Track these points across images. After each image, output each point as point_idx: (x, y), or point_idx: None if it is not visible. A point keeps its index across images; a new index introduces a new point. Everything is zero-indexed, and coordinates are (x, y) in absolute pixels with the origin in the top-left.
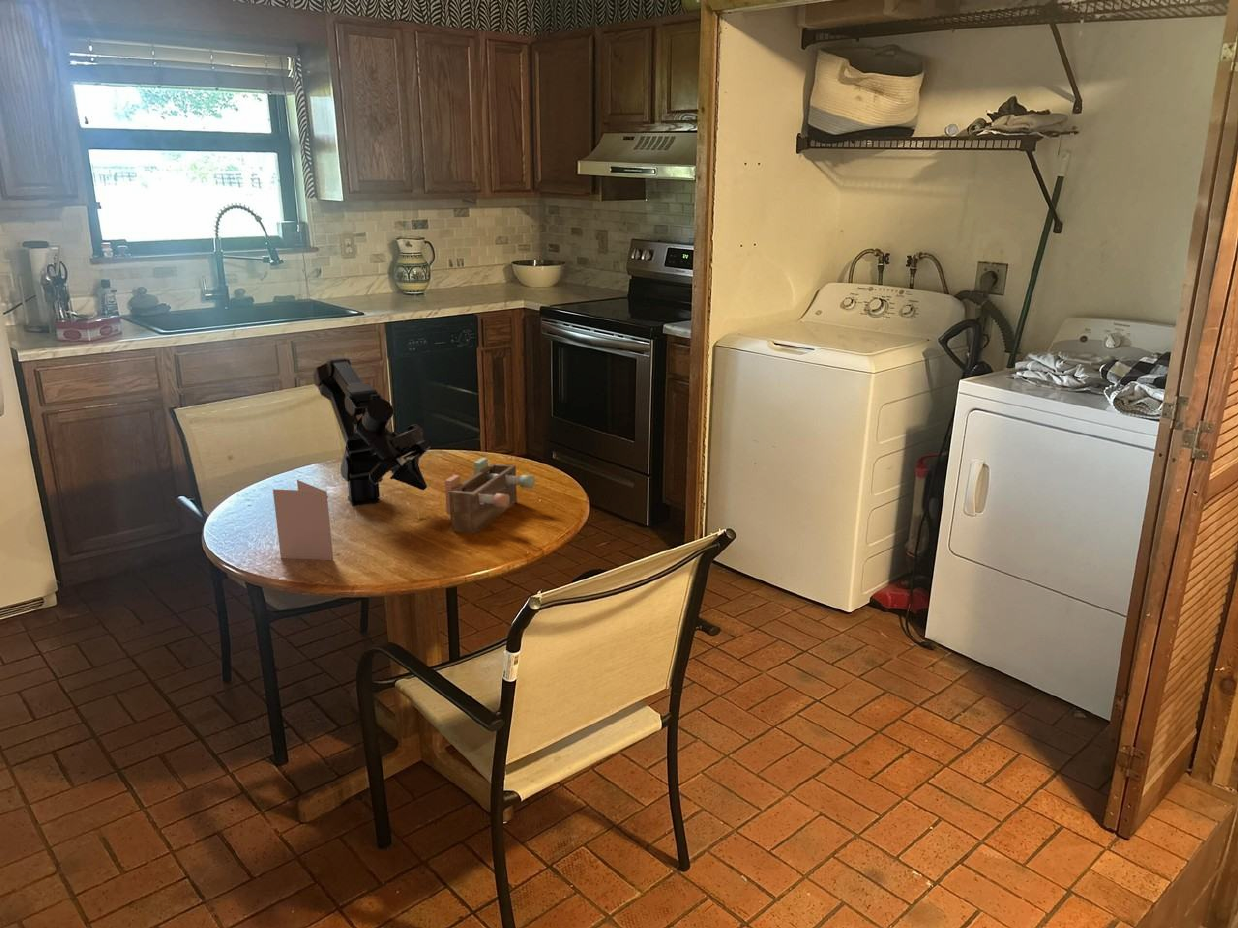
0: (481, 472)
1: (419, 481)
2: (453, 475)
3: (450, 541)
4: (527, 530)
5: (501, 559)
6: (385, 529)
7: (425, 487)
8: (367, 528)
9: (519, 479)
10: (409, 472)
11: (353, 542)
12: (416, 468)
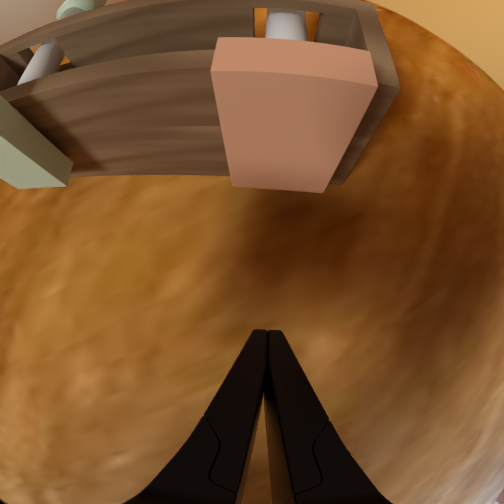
0: (38, 83)
1: (306, 378)
2: (231, 68)
3: (417, 156)
4: (264, 19)
5: (431, 42)
6: (392, 421)
7: (279, 330)
8: (391, 475)
9: (79, 11)
10: (367, 483)
11: (486, 430)
12: (221, 481)
